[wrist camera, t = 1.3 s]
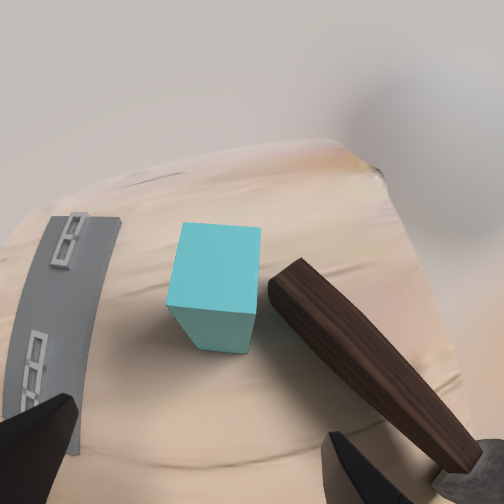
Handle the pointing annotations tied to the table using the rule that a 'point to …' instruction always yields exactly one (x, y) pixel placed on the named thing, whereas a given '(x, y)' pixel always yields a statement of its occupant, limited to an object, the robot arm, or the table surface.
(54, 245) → the rubber mat
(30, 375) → the steel chain
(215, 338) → the teal block
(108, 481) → the table surface
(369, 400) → the hammer
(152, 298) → the table surface
